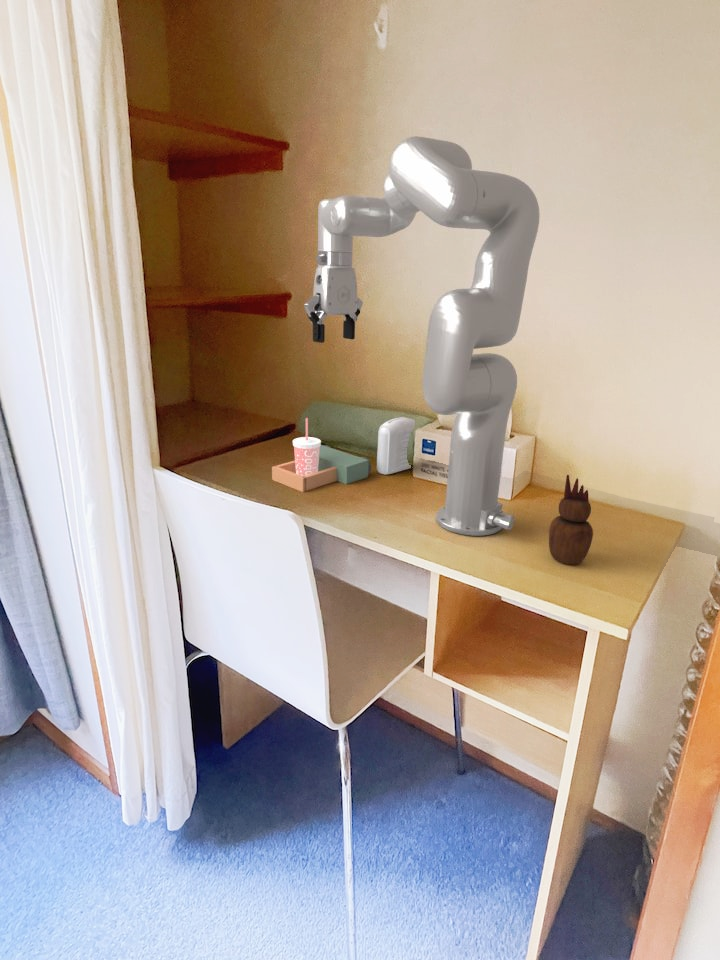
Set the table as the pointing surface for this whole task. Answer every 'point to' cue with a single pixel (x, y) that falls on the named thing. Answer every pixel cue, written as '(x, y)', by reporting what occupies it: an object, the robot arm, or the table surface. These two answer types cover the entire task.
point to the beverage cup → (306, 454)
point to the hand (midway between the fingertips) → (334, 340)
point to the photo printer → (394, 445)
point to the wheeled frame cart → (324, 470)
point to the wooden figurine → (571, 527)
